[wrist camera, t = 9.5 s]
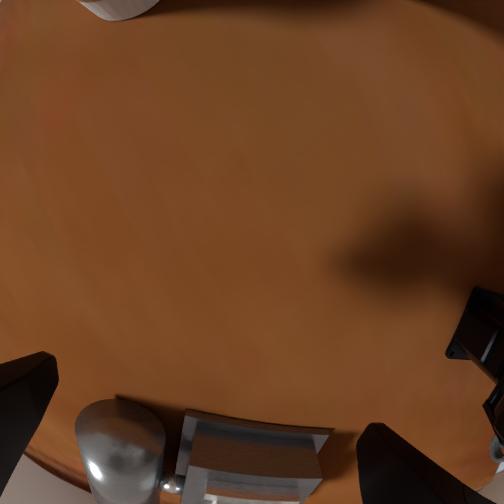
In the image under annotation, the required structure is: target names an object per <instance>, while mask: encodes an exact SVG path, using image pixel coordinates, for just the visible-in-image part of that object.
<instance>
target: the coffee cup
mask: <svg viewBox="0 0 504 504" xmlns="http://www.w3.org/2000/svg"><path fill="white" fill-rule="evenodd" d="M77 1H78V2H80V3H81V4H82V5H84V6H85V7H87V8H88V9H89V10H91V11H92V12H93V13H95V14H96V15H97V16H99V17H100V18H102V19H104V20H109V21H120V20H126V19H129V18H133V17H135V16H137V15H140V14H142V13H143V12H145V11H147V10H149V9H150V8H151V7H153V6H154V5H155V4H156V3H157V2H159V1H160V0H77Z"/></svg>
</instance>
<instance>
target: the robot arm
mask: <svg viewBox="0 0 504 504" xmlns="http://www.w3.org/2000/svg"><path fill="white" fill-rule="evenodd" d="M477 292H478V293H477ZM445 355H446V357H447V358H449V359H461V360H472V361H473V362H474V363H475V364H476V365H477V366H478V367H479V368H480V369H481V370H482V371H483V372H484V373H485V374H486V375H487V376H488V377H489V378H490V379H491V380H492V381H493V382H494V383H495V384H496V386H495V388H494V390H493V391H492V393H491V394H490V396H489V398H488V399H487V400H486V401H485V402H484V404H483V405H482V406H483V408H484V410H485V412H486V414H487V416H488V419H489V421H490V423H491V425H492V427H493V429H494V432H495V434H496V436H497V438H498V440H499V443H500V444H501V445H502V446H504V294H501V293H498V292H495V291H492V290H489V289H485V288H482V287H479V286H476V287H475V288H474V289H473V291H472V294H471V296H470V299H469V301H468V304H467V306H466V309H465V311H464V314H463V316H462V318H461V320H460V323H459V325H458V327H457V329H456V332H455V334H454V336H453V338H452V340H451V342H450V344H449V346H448V348H447V350H446V353H445ZM58 382H59V376H58V369H57V361H56V358H55V356H54V355H52V354H49V353H47V352H45V351H41V352H38V353H35V354H31V355H28V356H25V357H22V358H19V359H15V360H12V361H9V362H6V363H2V364H0V497H1V495H2V493H3V491H4V488H5V487H6V484H7V483H8V480H9V479H10V477H11V475H12V473H13V471H14V469H15V467H16V465H17V463H18V461H19V460H20V458H21V456H22V454H23V452H24V451H25V449H26V447H27V445H28V444H29V442H30V440H31V438H32V437H33V435H34V433H35V431H36V430H37V428H38V426H39V424H40V422H41V420H42V418H43V416H44V413H45V411H46V409H47V407H48V405H49V402H50V400H51V398H52V396H53V394H54V392H55V390H56V388H57V385H58ZM356 451H357V461H358V472H359V484H360V491H361V496H362V502H363V504H496V503H494V502H492V501H491V500H489V499H487V498H485V497H483V496H482V495H480V494H479V493H477V492H476V491H474V490H473V489H471V488H470V487H468V486H467V485H465V484H464V483H462V482H461V481H460V480H458V479H457V478H455V477H454V476H453V475H451V474H450V473H448V472H447V471H446V470H444V469H443V468H442V467H440V466H439V465H437V464H436V463H435V462H433V461H432V460H431V459H429V458H428V457H427V456H425V455H424V454H423V453H421V452H420V451H419V450H417V449H416V448H415V447H413V446H412V445H411V444H410V443H408V442H407V441H406V440H404V439H403V438H402V437H400V436H399V435H398V434H397V433H395V432H394V431H393V430H391V429H390V428H389V427H388V426H386V425H385V424H384V423H370V424H369V425H368V426H367V427H366V429H365V430H364V432H363V433H362V435H361V436H360V438H359V439H358V441H357V444H356Z"/></svg>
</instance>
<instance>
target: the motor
mask: <svg viewBox="0 0 504 504" xmlns="http://www.w3.org/2000/svg"><path fill="white" fill-rule="evenodd" d="M75 433H76V437H77V441H78V446H79V450H80V453H81V457H82V461H83V464H84V468H85V471H86V475H87V478H88V481H89V484H90V487H91V490H92V493H93V496H94V499H95V501H96V503H97V504H160V493H161V490H162V491H166V492H170V493H174V494H179V495H181V500H180V504H212V502H213V501H219V502H227V503H235V504H302V503H303V502H304V501H305V500H306V499H307V497H308V496H309V495H310V494H311V493H312V491H313V490H314V489H315V488H316V487H317V485H318V484H319V483H320V482H321V480H322V479H323V477H322V473H321V468H320V464H319V460H318V456H317V454H318V452H319V451H320V449H321V448H322V446H323V444H324V443H325V441H326V440H327V438H328V436H329V432H328V429H320V428H305V427H294V426H284V425H275V424H267V423H259V422H252V421H246V420H240V419H234V418H228V417H223V416H217V415H212V414H207V413H203V412H198V411H194V410H189V409H186V413H185V418H184V424H183V430H182V435H181V441H180V447H179V453H178V459H177V465H176V471H175V473H171V472H167V471H163V472H162V470H163V460H164V450H165V441H166V435H165V430H164V427H163V425H162V423H161V422H160V420H159V419H158V418H157V417H156V416H155V415H154V414H153V413H152V412H151V411H149V410H148V409H146V408H145V407H143V406H141V405H139V404H136V403H133V402H130V401H126V400H119V399H106V400H101V401H97V402H94V403H92V404H90V405H88V406H87V407H85V408H84V409H83V410H82V411H81V412H80V414H79V415H78V417H77V419H76V423H75Z"/></svg>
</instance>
